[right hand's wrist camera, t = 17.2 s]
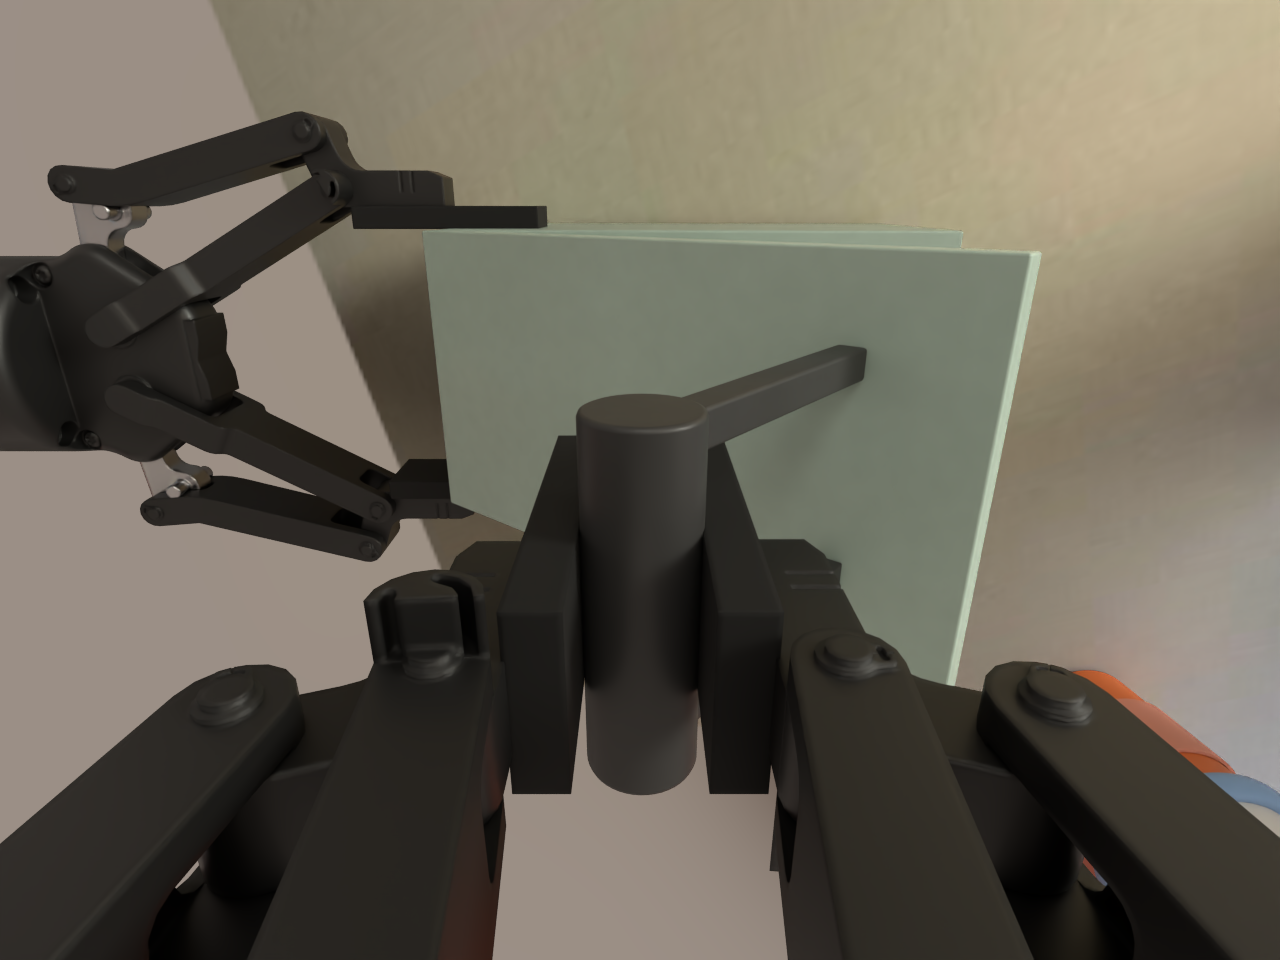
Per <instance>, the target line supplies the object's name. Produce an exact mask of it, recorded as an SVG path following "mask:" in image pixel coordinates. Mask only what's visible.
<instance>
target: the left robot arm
mask: <svg viewBox="0 0 1280 960" xmlns="http://www.w3.org/2000/svg"><path fill="white" fill-rule="evenodd" d="M347 143H348V138H347V133H346V131H345V129H344V128H343V126H341V125H340V124H339V123H338V122H336V121H333V120H330V119H327V118H323V117H320V116H316V115H313V114H309V113H305V112H293V113H290V114H287V115H284V116H281V117H278V118H274V119H271V120H268V121H265V122H262V123H258V124H255V125H252V126H249V127H246V128H243V129H239V130H236V131H233V132H230V133H227V134H224V135H220V136H217V137H214V138H211V139H208V140H205V141H201V142H198V143H195V144H192V145H189V146H185V147H182V148H179V149H176V150H173V151H170V152H167V153H163V154H160V155H157V156H154V157H150V158H147V159H144V160H141V161H138V162H135V163H131V164H128V165H125V166H122V167H119V168H116V169H109V168H95V167H81V166H67V165H59V166H54V167H53V168H52V169H50V171H49V173H48V184H49V187H50V190H51V191H52V192H53V193H54V195H55V196H56V197H58V198H59V199H61V200H62V201H66V202H69V203H73V209H74V214H75V219H76V224H77V229H78V234H79V239H80V245H78V246H75V247H73V248H72V249H70V250H69V251H68V252H67V253H65V254H63V255H61V256H0V451H93V450H106V451H111V452H114V453H117V454H120V455H122V456H124V457H126V458H129V459H131V460H134V461H138V462H140V464H141V466H142V469H143V472H144V475H145V477H146V480H147V483H148V486H149V488H150V491H151V494H152V497H151V498H149V499H147V500H146V501H144V502H143V503H142V504H141V507H140V512H141V515H142V517H143V518H144V519H145V520H146V521H147V522H148V523H150V524H152V525H155V526H167V525H179V524H192V523H202V524H206V525H211V526H215V527H219V528H224V529H228V530H232V531H237V532H241V533H245V534H249V535H254V536H258V537H263V538H267V539H271V540H275V541H280V542H284V543H289V544H293V545H297V546H302V547H306V548H310V549H314V550H319V551H323V552H327V553H332V554H336V555H340V556H345V557H349V558H353V559H358V560H362V561H367V562H372V561H375V560H377V559H378V558H379V557H380V556H381V555H382V554H383V552H384V551H385V550H386V548H387V547H388V546H389V544H390V543H391V541H392V540H393V539H394V537H395V536H396V535H397V533H398V532H399V529H400V523H399V522H400V520H401V519H406V518H434V519H437V518H440V519H447V518H449V519H462V518H465V517H467V516H470V515H473V514H474V511H471V510H469V509H467V508H464V507H462V506H459V505H457V504H454V503H452V502H451V496H450V487H449V478H448V468H447V459H409V460H408V461H407V462H406V463H405V464H404V465H403V467H402V468H401V469H400V470H399V471H398V472H397V473H396V474H394V473H392V472H390V471H388V470H386V469H384V468H382V467H380V466H378V465H376V464H374V463H372V462H370V461H367V460H365V459H363V458H361V457H359V456H357V455H355V454H353V453H351V452H349V451H347V450H345V449H342V448H340V447H338V446H336V445H334V444H332V443H330V442H328V441H326V440H324V439H322V438H320V437H318V436H315V435H313V434H311V433H309V432H307V431H305V430H303V429H301V428H299V427H297V426H295V425H293V424H291V423H288V422H286V421H284V420H282V419H280V418H278V417H276V416H274V415H272V414H270V413H268V412H267V411H266V410H265V407H264V406H263V405H262V404H261V403H259V402H257V401H255V400H253V399H251V398H249V397H247V396H245V395H243V394H240V393H238V392H236V391H235V390H237V389H239V385H238V380H237V376H236V371H235V369H234V367H233V364H232V362H231V360H230V358H229V356H228V354H227V352H226V345H227V329H226V324H225V319H224V314H223V313H217V312H216V310H215V309H214V307H213V305H214V304H216V303H218V302H219V301H221V300H222V299H224V298H225V297H227V296H228V295H230V294H232V293H233V292H235V291H236V290H238V289H239V288H240V287H241V285H242V284H243V283H244V282H246V281H248V280H249V279H251V278H252V277H254V276H255V275H257V274H258V273H260V272H262V271H263V270H265V269H266V268H268V267H269V266H271V265H273V264H274V263H276V262H277V261H279V260H280V259H282V258H283V257H285V256H287V255H288V254H290V253H291V252H293V251H295V250H296V249H298V248H299V247H301V246H302V245H304V244H306V243H307V242H309V241H310V240H312V239H313V238H315V237H316V236H318V235H320V234H321V233H323V232H324V231H326V230H327V229H329V228H331V227H332V226H334V225H335V224H337V223H338V222H340V221H342V220H343V219H345V218H346V217H348V216H349V215H351V214H352V221H353V228H354V229H539V228H543V227H547V206H455V204H454V192H453V181H452V178H450V177H448V176H445V175H443V174H441V173H438V172H433V171H367V170H365V169H363V168H362V167H361V166H359V164H358V163H357V162H356V161H355V159H354V158H353V156H352V154H351V151H350V149H349V147H348V145H347ZM304 165H307V167H308V169H309V171H310V173H311V175H312V177H311V178H310V179H308V180H307V181H305V182H304V183H302V184H301V185H299V186H297V187H296V188H294V189H293V190H291V191H290V192H288V193H287V194H285V195H284V196H282V197H281V198H279V199H278V200H276V201H275V202H273V203H272V204H270V205H269V206H267V207H266V208H264V209H263V210H261V211H260V212H258V213H256V214H255V215H254V216H252V217H250V218H249V219H247V220H246V221H244V222H243V223H241V224H240V225H238V226H237V227H235V228H234V229H232V230H231V231H229V232H228V233H226V234H225V235H223V236H221V237H220V238H219V239H217V240H215V241H214V242H212V243H211V244H209V245H208V246H206V247H205V248H203V249H202V250H200V251H199V252H197V253H196V254H194V255H193V256H191V257H190V258H188V259H187V260H185V261H183V262H181V263H178V264H176V265H173V266H171V267H168V268H166V269H165V270H163V269H162V268H160V267H159V266H157V265H156V264H154V263H152V262H151V261H149V260H148V259H146V258H145V257H143V256H142V255H140V254H138V253H137V252H135V251H134V250H132V249H131V248H129V247H127V246H125V245H124V238H125V235H126V233H127V232H128V231H129V230H131V229H134V228H139V227H142V226H143V225H144V224H145V223H146V222H147V219H148V218H150V217H151V214H152V211H151V209H150V207H149V206H167V205H174V204H179V203H183V202H187V201H190V200H193V199H196V198H200V197H203V196H206V195H210V194H213V193H216V192H219V191H223V190H226V189H229V188H232V187H236V186H239V185H242V184H245V183H249V182H252V181H255V180H258V179H262V178H265V177H268V176H271V175H275V174H278V173H281V172H284V171H288V170H291V169H294V168H298V167H301V166H304ZM185 443H188V444H191V445H193V446H195V447H197V448H199V449H201V450H203V451H206V452H209V453H213V454H228V455H230V456H233V457H235V458H237V459H239V460H241V461H243V462H245V463H248V464H250V465H252V466H254V467H256V468H258V469H260V470H263V471H265V472H267V473H269V474H271V475H273V476H276V477H278V478H280V479H282V480H284V481H286V482H288V483H291V484H293V485H295V486H297V487H299V488H301V489H303V490H306V491H308V492H310V493H312V494H314V495H310V494H306V493H302V492H298V491H294V490H289V489H285V488H281V487H277V486H273V485H268V484H264V483H260V482H256V481H252V480H247V479H243V478H238V477H232V476H213V472H212V470H211V469H210V468H209V467H206V466H202V467H199V466H196V465H190V464H187V463H185V462H184V461H182V460H181V459H180V458H179V456H178V455H177V453H176V450H178V449H179V448H180V447H181V446H183V445H184V444H185ZM315 495H316V496H315Z"/></svg>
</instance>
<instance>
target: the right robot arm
mask: <svg viewBox="0 0 1280 960" xmlns="http://www.w3.org/2000/svg"><path fill="white" fill-rule="evenodd" d="M363 602H364V608H365V614H366V619H367V626H368V631H369V637H370V643H371V649H372V655H373V661H374V664H373V666H372V669H371V671H370V673H369V676H368V678H366V679H364V680H362V681H359V682H355V683H352V684H348V685H344V686H340V687H335V688H330V689H325V690H320V691H315V692H311V693H306V694H301V695H299V691H298V687H297V683H296V679H295V678H294V677H293V676H292V675H291V674H290V673H289V672H288V671H287V670H286V669H283V668H280V667H276V666H272V665H245V666H238V667H234V668H229V669H225V670H222V671H218V672H216V673H215V674H212V675H210V676H207V677H205V678H203V679H200V680H198V681H196V682H194V683H192V684H191V685H189V686H188V687H186V688H185V689H184V690H182V691H180V692H179V693H177V694H176V695H174V696H173V697H172V698H171V699H170V700H168V701H167V702H166V703H165V704H164V705H162V706H161V707H160V708H159V709H158V710H157V711H155V712H154V713H153V714H152V715H151V716H150V717H148V718H147V719H146V720H145V721H144V722H143V723H141V724H140V725H139V726H138V727H137V728H135V729H134V730H133V731H132V732H131V733H130V734H129V735H127V736H126V737H125V738H124V739H123V740H121V741H120V742H119V743H118V744H117V745H116V746H114V747H113V748H112V749H111V750H110V751H109V752H107V753H106V754H105V755H104V756H103V757H101V758H100V759H99V760H98V761H97V762H96V763H94V764H93V765H92V766H91V767H90V768H89V769H87V770H86V771H85V772H84V773H83V774H82V775H80V776H79V777H78V778H77V779H76V780H75V781H73V782H72V783H71V784H70V785H69V786H67V787H66V788H65V789H64V790H63V791H62V792H60V793H59V794H58V795H57V796H56V797H55V798H53V799H52V800H51V801H50V802H49V803H47V804H46V805H45V806H44V807H43V808H42V809H40V810H39V811H38V812H37V813H36V814H35V815H33V816H32V817H31V818H30V819H29V820H28V821H26V822H25V823H24V824H23V825H22V826H20V827H19V828H18V829H17V830H16V831H15V832H13V833H12V834H11V835H10V836H9V837H8V838H6V839H5V840H4V841H3V842H2V843H1V844H0V960H492V957H493V947H494V937H495V928H496V918H497V909H498V899H499V889H500V880H501V870H502V860H503V851H504V841H505V831H506V819H505V809H504V798H503V794H504V790H505V785H506V781H507V777H508V772H509V768H510V773H511V784H512V794H571V789H572V781H573V772H574V764H575V755H576V747H577V738H578V730H579V721H580V712H581V704H582V695H583V687H584V678H585V672H584V643H583V614H582V585H581V556H580V527H579V498H578V469H577V440H576V435H558V438H557V441H556V444H555V446H554V449H553V452H552V455H551V458H550V461H549V464H548V466H547V469H546V472H545V475H544V478H543V481H542V483H541V486H540V489H539V492H538V495H537V498H536V501H535V503H534V506H533V509H532V512H531V515H530V518H529V521H528V523H527V526H526V529H525V532H524V535H523V538H522V541H477V542H475V543H474V544H473V545H471V546H470V547H468V548H467V549H466V550H464V551H463V552H462V553H460V554H459V555H458V556H456V558H455V560H454V562H453V564H452V566H451V568H450V570H428V571H420V572H413V573H410V574H406V575H403V576H400V577H397V578H394V579H391V580H389V581H388V582H386V583H384V584H382V585H381V586H379V587H377V588H375V589H374V590H373V591H372V592H371V593H370V594H369V595H368V597H367V598H366V599H365V600H364V601H363ZM697 689H698V698H699V707H700V715H701V724H702V732H703V741H704V749H705V758H706V767H707V775H708V784H709V792H710V794H768V793H769V781H770V770H771V765H772V770H773V774H774V778H775V782H776V787H777V798H776V809H775V819H774V830H773V840H772V851H771V862H770V871H779V878H780V888H781V897H782V907H783V916H784V926H785V936H786V945H787V955H788V960H1280V837H1279V836H1277V835H1276V834H1275V833H1274V832H1273V831H1271V830H1270V829H1269V828H1268V827H1267V826H1266V825H1264V824H1263V823H1262V822H1261V821H1260V820H1258V819H1257V818H1256V817H1255V816H1254V815H1252V814H1251V813H1250V812H1249V811H1248V810H1247V809H1245V808H1244V807H1243V806H1242V805H1241V804H1239V803H1238V802H1237V801H1236V800H1235V799H1234V798H1232V797H1231V796H1230V795H1229V794H1228V793H1226V792H1225V791H1224V790H1223V789H1222V788H1221V787H1219V786H1218V785H1217V784H1216V783H1215V782H1213V781H1212V780H1211V779H1210V778H1209V777H1207V776H1206V775H1205V774H1204V773H1203V772H1202V771H1200V770H1199V769H1198V768H1197V767H1196V766H1194V765H1193V764H1192V763H1191V762H1190V761H1189V760H1187V759H1186V758H1185V757H1184V756H1183V755H1181V754H1180V753H1179V752H1178V751H1177V750H1176V749H1174V748H1173V747H1172V746H1171V745H1170V744H1168V743H1167V742H1166V741H1165V740H1164V739H1162V738H1161V737H1160V736H1159V735H1158V734H1157V733H1155V732H1154V731H1153V730H1152V729H1151V728H1149V727H1148V726H1147V725H1146V724H1145V723H1144V722H1142V721H1141V720H1140V719H1139V718H1138V717H1136V716H1135V715H1134V714H1133V713H1132V712H1131V711H1129V710H1128V709H1127V708H1126V707H1125V706H1123V705H1122V704H1121V703H1120V702H1119V701H1117V700H1116V699H1115V698H1114V697H1113V696H1112V695H1110V694H1109V693H1108V692H1106V691H1105V690H1103V689H1102V688H1100V687H1099V686H1097V685H1096V684H1094V683H1093V682H1091V681H1090V680H1088V679H1087V678H1084V677H1082V676H1080V675H1077V674H1075V673H1072V672H1070V671H1068V670H1066V669H1064V668H1061V667H1057V666H1054V665H1048V664H1045V663H1038V662H1017V661H1013V662H1009V663H1005V664H1001V665H998V666H995V667H994V668H993V669H992V670H991V671H990V672H989V673H988V674H987V675H986V677H985V682H984V686H983V691H982V692H981V691H976V690H971V689H966V688H961V687H956V686H951V685H946V684H941V683H937V682H933V681H930V680H926V679H922V678H919V677H917V676H915V675H912V674H911V672H910V670H909V668H908V665H907V663H906V661H905V660H904V659H903V657H902V656H901V655H900V653H899V652H898V651H897V649H895V648H894V647H892V646H891V645H889V644H888V643H886V642H885V641H883V640H882V639H881V638H878V637H876V636H873V635H870V634H868V633H866V632H865V630H864V629H863V627H862V625H861V623H860V621H859V619H858V617H857V615H856V613H855V611H854V609H853V608H852V606H851V604H850V602H849V600H848V598H847V596H846V594H845V592H844V590H843V589H841V585H840V583H839V581H838V579H837V577H836V575H835V574H833V569H832V567H831V566H830V564H829V562H828V560H827V558H826V556H825V554H824V553H823V552H821V551H820V550H818V549H817V548H816V547H814V546H813V545H811V544H810V543H809V542H807V541H806V540H805V539H759V538H758V536H757V533H756V530H755V527H754V524H753V521H752V519H751V516H750V513H749V510H748V507H747V504H746V501H745V499H744V496H743V493H742V490H741V487H740V484H739V482H738V479H737V476H736V473H735V470H734V467H733V464H732V462H731V459H730V456H729V453H728V450H727V447H726V445H725V442H724V443H722V444H719V445H717V446H715V447H713V448H711V449H708V462H707V488H706V515H705V529H704V532H703V551H702V578H701V605H700V632H699V659H698V686H697ZM1084 857H1085V858H1086V859H1087V860H1088V862H1089V863H1090V864H1091V865H1092V866H1093V868H1094V869H1095V870H1096V871H1097V872H1098V873H1099V875H1100V876H1101V877H1102V878H1103V879H1104V880H1105V882H1106V883H1107V885H1106V886H1105V885H1103V884H1102V883H1101V882H1100V881H1099V880H1098V879H1097V878H1095V877H1094V876H1093V874H1092V873H1091V872H1090V871H1089V870H1088V869H1087V867H1086V866H1085V865H1084V864H1083V863H1082V862H1083V859H1084ZM197 861H198V863H199V866H198V867H197V869H196V870H195V871H194V872H193V873H192V875H191V876H190V877H189V878H188V879H187V880H186V881H185V882H183V883H182V884H181V885H180V886H179V887H178V888H177V889H176V888H175V887H176V885H177V884H178V883H179V882H180V881H181V880H182V878H183V877H184V876H185V875H186V874H187V872H188V871H189V870H190V869H191V868H192V866H193V865H194V864H195V863H196V862H197Z"/></svg>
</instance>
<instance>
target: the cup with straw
mask: <svg viewBox="0 0 1280 960" xmlns="http://www.w3.org/2000/svg"><path fill="white" fill-rule="evenodd" d="M1072 673H1075V674H1077V675H1080V676H1082V677H1084V678H1087V679H1088V680H1090V681H1091V682H1093V683H1094V684H1096V685H1097V686H1099V687H1100V688H1102V689H1103V690H1105V691H1106V692H1108V693H1109V694H1110V695H1112V696H1113V697H1114V698H1115V699H1116V700H1117V701H1119V702H1120V703H1121V704H1122V705H1123V706H1125V707H1126V708H1127V709H1128V710H1129V711H1131V712H1132V713H1133V714H1134V715H1135V716H1136V717H1138V718H1139V719H1140V720H1141V721H1142V722H1144V723H1145V724H1146V725H1147V726H1148V727H1149V728H1151V729H1152V730H1153V731H1154V732H1155V733H1157V734H1158V735H1159V736H1160V737H1161V738H1162V739H1164V740H1165V741H1166V742H1167V743H1168V744H1170V745H1171V746H1172V747H1173V748H1174V749H1176V750H1177V751H1178V752H1179V753H1180V754H1181V755H1183V756H1184V757H1185V758H1186V759H1187V760H1189V761H1190V762H1191V763H1192V764H1193V765H1194V766H1196V767H1197V768H1198V769H1199V770H1200V771H1202V772H1203V773H1204V774H1205V775H1206V776H1207V777H1209V778H1210V779H1211V780H1212V781H1213V782H1215V783H1216V784H1217V785H1218V786H1219V787H1221V788H1222V789H1223V790H1224V791H1225V792H1226V793H1228V794H1229V795H1230V796H1231V797H1232V798H1234V799H1235V800H1236V801H1237V802H1238V803H1239V804H1241V805H1242V806H1243V807H1244V808H1245V809H1247V810H1248V811H1249V812H1250V813H1251V814H1252V815H1254V816H1255V817H1256V818H1257V819H1258V820H1260V821H1261V822H1262V823H1263V824H1264V825H1266V826H1267V827H1268V828H1269V829H1270V830H1271V831H1273V832H1274V833H1275V834H1276V835H1277V836H1279V837H1280V794H1279V793H1278V792H1276V791H1275V790H1274V789H1272V788H1271V787H1269V786H1267V785H1266V784H1264V783H1262V782H1260V781H1257V780H1255V779H1252V778H1250V777H1246V776H1242V775H1238V774H1236V773H1235V772H1234V770H1233V769H1232V768H1231V767H1230V766H1229V765H1228V764H1227V763H1226V762H1225V761H1224V760H1223V759H1221V758H1220V757H1219V756H1218V755H1216V754H1215V753H1214V752H1213V751H1211V750H1210V749H1209V748H1208V747H1206V746H1205V745H1204V744H1203V743H1201V742H1200V741H1199V740H1198V739H1196V738H1195V737H1194V736H1193V735H1191V734H1190V733H1189V732H1188V731H1186V730H1185V729H1184V728H1183V727H1181V726H1180V725H1179V724H1178V723H1176V722H1175V721H1174V720H1173V719H1171V718H1170V717H1169V716H1168V715H1166V714H1165V713H1164V712H1163V711H1161V710H1160V709H1159V708H1157V707H1156V706H1154V705H1152V704H1150V703H1147V702H1145V701H1144V700H1142V699H1141V698H1140V697H1139V696H1137V695H1136V694H1135V693H1134V692H1132V691H1131V690H1130V689H1129V688H1127V687H1126V686H1125V685H1124V684H1122V683H1121V682H1120V681H1119V680H1117V679H1116V678H1114V677H1112V676H1110V675H1108V674H1106V673H1103V672H1099V671H1091V670H1084V671H1075V672H1072ZM1094 871H1095V875H1096V878H1097V879H1098V880H1099V881H1100V882H1101V883H1102V884H1103V885H1105V886H1106V885H1107V883H1106V882H1105V880H1104V879H1103V878H1102V877H1101V876H1100V875H1099V873H1098V872H1097V871H1096V870H1095V869H1094Z"/></svg>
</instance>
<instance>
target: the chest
mask: <svg viewBox="0 0 1280 960" xmlns="http://www.w3.org/2000/svg"><path fill="white" fill-rule="evenodd" d="M441 230H456V231H484V232H513V233H541V234H570V235H598V236H627V237H655V238H684V239H712V240H741V241H769V242H798V243H826V244H855V245H883V246H912V247H941V248H961V244H962V238H963V231H959V230H948V229H937V228H925V227H914V226H902V225H891V224H823V223H547V227H543V228H539V229H441Z"/></svg>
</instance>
